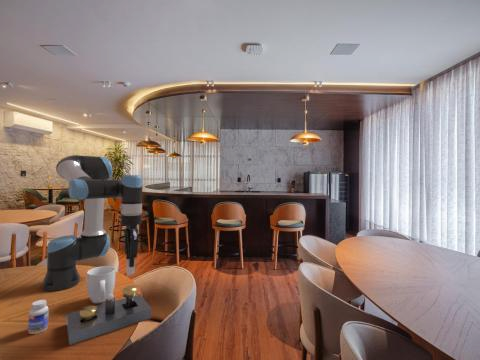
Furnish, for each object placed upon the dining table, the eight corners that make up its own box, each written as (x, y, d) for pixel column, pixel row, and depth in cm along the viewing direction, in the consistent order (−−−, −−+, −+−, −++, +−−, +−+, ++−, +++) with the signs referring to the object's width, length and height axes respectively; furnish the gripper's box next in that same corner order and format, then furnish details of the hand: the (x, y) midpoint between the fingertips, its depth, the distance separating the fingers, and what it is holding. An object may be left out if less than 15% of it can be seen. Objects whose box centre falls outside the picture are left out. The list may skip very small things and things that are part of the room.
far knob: (121, 302, 97) (121, 287, 97) (134, 299, 100) (135, 284, 100) (124, 308, 93) (124, 292, 93) (138, 304, 96) (138, 289, 96)
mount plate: (66, 324, 90) (66, 313, 90) (140, 303, 106) (140, 294, 106) (69, 345, 79) (69, 333, 79) (150, 318, 95) (151, 308, 95)
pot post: (104, 310, 93) (104, 294, 93) (113, 307, 95) (114, 292, 94) (106, 314, 90) (106, 297, 90) (115, 311, 92) (115, 295, 92)
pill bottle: (24, 335, 83) (25, 307, 83) (33, 326, 88) (33, 299, 88) (43, 333, 85) (44, 305, 85) (51, 324, 90) (51, 297, 90)
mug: (117, 306, 103) (118, 275, 103) (86, 313, 97) (87, 280, 97) (113, 291, 116) (113, 264, 116) (85, 297, 110) (86, 268, 110)
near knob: (78, 325, 88) (79, 308, 88) (95, 320, 92) (95, 304, 92) (80, 332, 84) (80, 315, 84) (97, 327, 88) (97, 310, 88)
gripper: (117, 212, 99) (116, 271, 99) (125, 217, 89) (124, 282, 89) (136, 211, 104) (135, 267, 104) (146, 215, 93) (145, 277, 93)
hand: (130, 274), depth 96 cm, fingers closed
